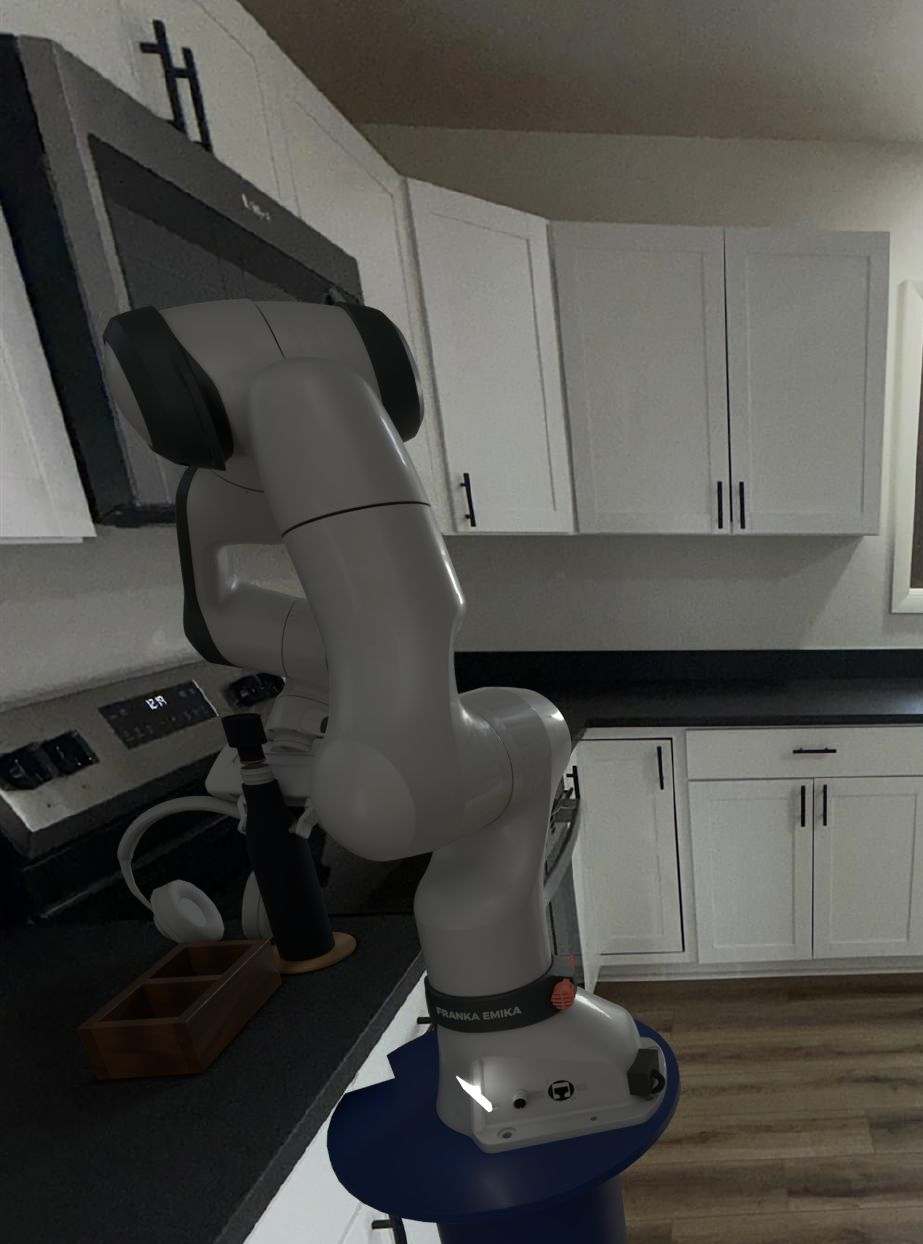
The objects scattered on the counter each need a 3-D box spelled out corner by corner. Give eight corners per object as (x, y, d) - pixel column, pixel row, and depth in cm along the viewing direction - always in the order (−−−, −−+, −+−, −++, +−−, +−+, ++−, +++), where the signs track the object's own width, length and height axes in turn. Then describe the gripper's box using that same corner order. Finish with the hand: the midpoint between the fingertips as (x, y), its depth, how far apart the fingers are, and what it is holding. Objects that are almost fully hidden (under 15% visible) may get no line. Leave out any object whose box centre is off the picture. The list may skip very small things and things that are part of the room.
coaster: (368, 932, 116) (367, 929, 115) (337, 971, 106) (337, 968, 105) (282, 936, 114) (281, 934, 114) (243, 976, 104) (242, 973, 104)
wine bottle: (281, 966, 106) (207, 725, 93) (277, 947, 111) (206, 715, 98) (338, 952, 109) (274, 717, 97) (332, 934, 114) (270, 708, 101)
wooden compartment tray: (282, 982, 103) (269, 938, 101) (203, 1073, 86) (185, 1022, 84) (195, 987, 102) (180, 942, 99) (97, 1080, 85) (76, 1029, 83)
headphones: (137, 970, 106) (81, 816, 98) (163, 939, 114) (112, 794, 106) (305, 949, 111) (265, 801, 103) (318, 920, 119) (282, 781, 111)
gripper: (214, 719, 106) (175, 819, 101) (366, 724, 103) (333, 827, 98) (249, 746, 112) (214, 842, 107) (394, 751, 109) (365, 849, 104)
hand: (272, 835), depth 103 cm, fingers closed on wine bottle, 5 cm apart
